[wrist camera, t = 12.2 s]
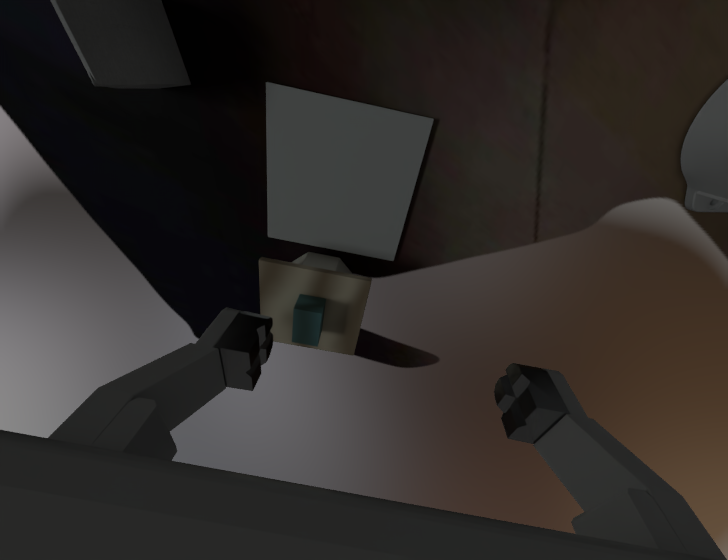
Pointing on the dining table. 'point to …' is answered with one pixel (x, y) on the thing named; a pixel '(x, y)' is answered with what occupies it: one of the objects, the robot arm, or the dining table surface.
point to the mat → (340, 170)
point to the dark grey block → (124, 42)
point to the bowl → (323, 262)
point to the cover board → (317, 285)
